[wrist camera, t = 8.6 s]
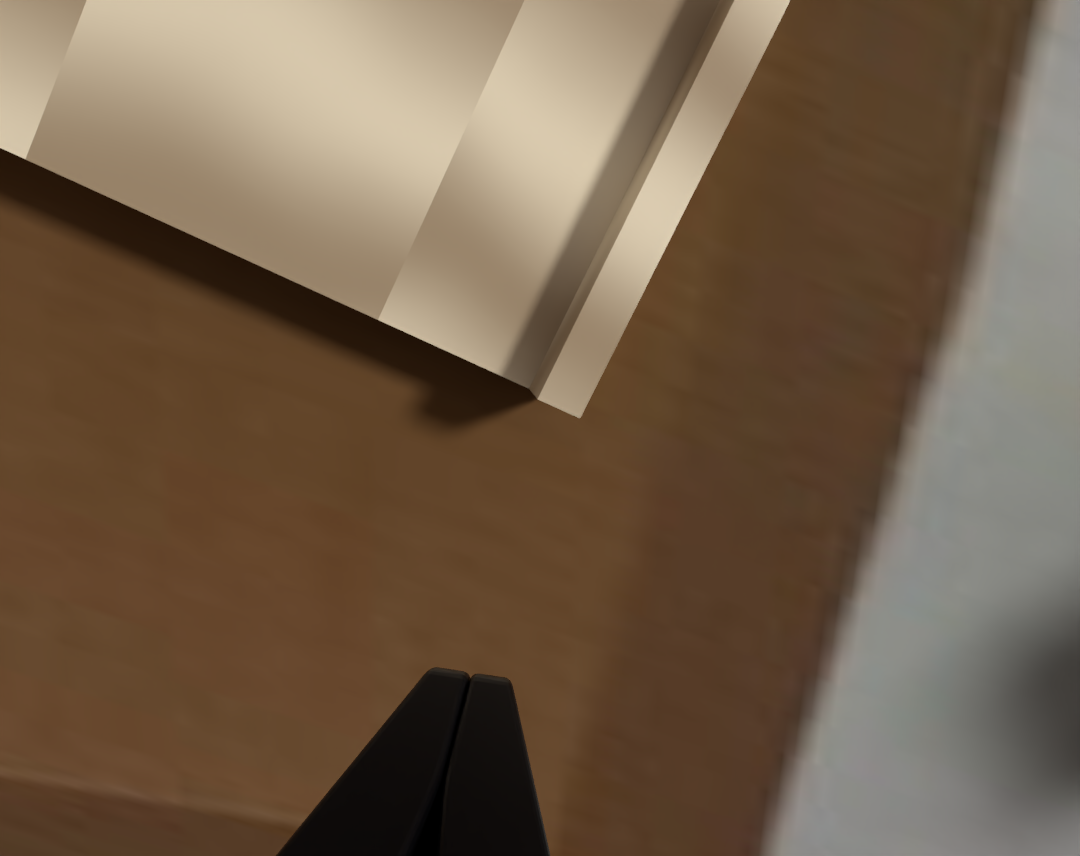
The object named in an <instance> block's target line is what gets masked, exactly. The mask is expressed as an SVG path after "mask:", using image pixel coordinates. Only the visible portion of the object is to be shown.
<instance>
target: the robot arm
mask: <svg viewBox="0 0 1080 856" xmlns="http://www.w3.org/2000/svg"><path fill="white" fill-rule="evenodd" d="M276 856H550V852H549V848H548V843H547V839H546V834H545V830H544V825H543V821H542V816H541V812H540V807H539V803H538V798H537V794H536V789H535V785H534V780H533V776H532V771H531V767H530V762H529V758H528V753H527V749H526V744H525V740H524V735H523V731H522V726H521V722H520V717H519V713H518V708H517V704H516V699H515V695H514V690H513V686H512V683H511V682H510V680H509V679H507V678H505V677H498V676H491V675H485V674H475V675H473V676H472V677H471V678H470V677H469V675H468V674H467V673H466V672H464V671H458V670H451V669H445V668H438V667H435V668H432V669H430V670H429V671H427V672H426V673H425V674H424V676H423V677H422V678H421V679H420V680H419V682H418V683H417V684H416V685H415V687H414V688H413V689H412V690H411V691H410V693H409V694H408V695H407V696H406V698H405V699H404V700H403V701H402V702H401V704H400V705H399V706H398V707H397V708H396V710H395V711H394V712H393V713H392V715H391V716H390V717H389V718H388V719H387V721H386V722H385V723H384V724H383V726H382V727H381V728H380V729H379V730H378V732H377V733H376V734H375V735H374V737H373V738H372V739H371V740H370V741H369V743H368V744H367V745H366V746H365V748H364V749H363V750H362V751H361V752H360V754H359V755H358V756H357V757H356V759H355V760H354V761H353V762H352V763H351V765H350V766H349V767H348V768H347V770H346V771H345V772H344V773H343V774H342V776H341V777H340V778H339V779H338V780H337V782H336V783H335V784H334V785H333V787H332V788H331V789H330V790H329V791H328V793H327V794H326V795H325V796H324V798H323V799H322V800H321V801H320V802H319V804H318V805H317V806H316V807H315V809H314V810H313V811H312V812H311V813H310V815H309V816H308V817H307V818H306V820H305V821H304V822H303V823H302V824H301V826H300V827H299V828H298V829H297V831H296V832H295V833H294V834H293V835H292V837H291V838H290V839H289V840H288V842H287V843H286V844H285V845H284V846H283V848H282V849H281V850H280V851H279V852H278V854H277V855H276Z"/></svg>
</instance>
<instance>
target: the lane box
mask: <svg viewBox="0 0 1080 856" xmlns="http://www.w3.org/2000/svg"><path fill="white" fill-rule="evenodd" d="M789 2H790V0H0V148H2V149H4V150H6V151H8V152H10V153H13V154H15V155H17V156H19V157H21V158H23V159H26V160H28V161H30V162H32V163H34V164H37V165H39V166H41V167H43V168H45V169H48V170H50V171H52V172H54V173H56V174H59V175H61V176H63V177H65V178H67V179H70V180H72V181H74V182H76V183H78V184H81V185H83V186H85V187H87V188H89V189H92V190H94V191H96V192H98V193H100V194H103V195H105V196H107V197H109V198H111V199H114V200H116V201H118V202H120V203H122V204H124V205H127V206H129V207H131V208H133V209H135V210H138V211H140V212H142V213H144V214H146V215H149V216H151V217H153V218H155V219H157V220H160V221H162V222H164V223H166V224H168V225H171V226H173V227H175V228H177V229H179V230H182V231H184V232H186V233H188V234H190V235H193V236H195V237H197V238H199V239H201V240H204V241H206V242H208V243H210V244H212V245H214V246H217V247H219V248H221V249H223V250H225V251H228V252H230V253H232V254H234V255H236V256H239V257H241V258H243V259H245V260H247V261H250V262H252V263H254V264H256V265H258V266H261V267H263V268H265V269H267V270H269V271H272V272H274V273H276V274H278V275H280V276H283V277H285V278H287V279H289V280H291V281H294V282H296V283H298V284H300V285H302V286H304V287H307V288H309V289H311V290H313V291H315V292H318V293H320V294H322V295H324V296H326V297H329V298H331V299H333V300H335V301H337V302H340V303H342V304H344V305H346V306H348V307H351V308H353V309H355V310H357V311H359V312H362V313H364V314H366V315H368V316H370V317H373V318H375V319H377V320H379V321H381V322H384V323H386V324H388V325H390V326H392V327H395V328H397V329H399V330H401V331H403V332H405V333H408V334H410V335H412V336H414V337H416V338H419V339H421V340H423V341H425V342H427V343H430V344H432V345H434V346H436V347H438V348H441V349H443V350H445V351H447V352H449V353H452V354H454V355H456V356H458V357H460V358H463V359H465V360H467V361H469V362H471V363H474V364H476V365H478V366H480V367H482V368H485V369H487V370H489V371H491V372H493V373H495V374H498V375H500V376H502V377H504V378H506V379H509V380H511V381H513V382H515V383H517V384H520V385H522V386H524V387H526V388H528V389H530V391H531V392H532V393H533V394H534V395H535V397H536V398H537V399H538V400H540V401H543V402H545V403H547V404H549V405H551V406H554V407H556V408H558V409H560V410H562V411H565V412H567V413H569V414H571V415H573V416H576V417H578V418H580V417H581V415H582V414H583V412H584V410H585V408H586V406H587V404H588V402H589V400H590V398H591V396H592V394H593V392H594V390H595V388H596V386H597V384H598V382H599V380H600V378H601V376H602V374H603V372H604V370H605V368H606V366H607V364H608V362H609V360H610V358H611V356H612V354H613V352H614V350H615V348H616V346H617V344H618V342H619V340H620V338H621V336H622V334H623V332H624V330H625V328H626V326H627V324H628V322H629V320H630V318H631V316H632V314H633V312H634V310H635V308H636V306H637V304H638V302H639V300H640V298H641V296H642V294H643V292H644V290H645V288H646V286H647V284H648V282H649V280H650V278H651V276H652V274H653V272H654V270H655V268H656V266H657V264H658V262H659V260H660V258H661V256H662V254H663V252H664V251H665V249H666V247H667V245H668V243H669V241H670V239H671V237H672V235H673V233H674V231H675V229H676V227H677V225H678V223H679V221H680V219H681V217H682V215H683V213H684V211H685V209H686V207H687V205H688V203H689V201H690V199H691V197H692V195H693V193H694V191H695V189H696V187H697V185H698V183H699V181H700V179H701V177H702V175H703V173H704V171H705V169H706V167H707V165H708V163H709V161H710V159H711V157H712V155H713V153H714V151H715V149H716V147H717V145H718V143H719V141H720V139H721V137H722V135H723V133H724V131H725V129H726V127H727V125H728V123H729V121H730V119H731V117H732V115H733V113H734V111H735V109H736V107H737V105H738V103H739V101H740V99H741V97H742V95H743V93H744V91H745V89H746V88H747V86H748V84H749V82H750V80H751V78H752V76H753V74H754V72H755V70H756V68H757V66H758V64H759V62H760V60H761V58H762V56H763V54H764V52H765V50H766V48H767V46H768V44H769V42H770V40H771V38H772V36H773V34H774V32H775V30H776V28H777V26H778V24H779V22H780V20H781V18H782V16H783V14H784V12H785V10H786V8H787V6H788V4H789Z"/></svg>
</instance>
